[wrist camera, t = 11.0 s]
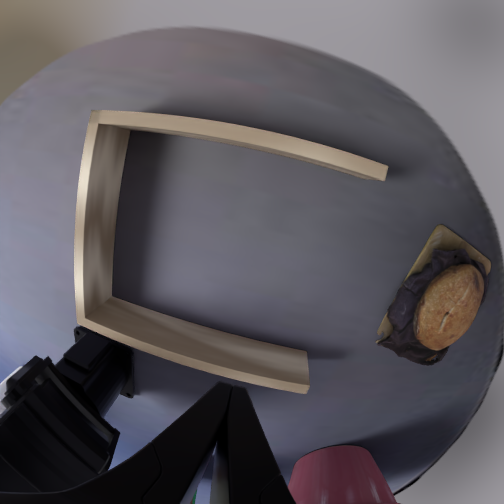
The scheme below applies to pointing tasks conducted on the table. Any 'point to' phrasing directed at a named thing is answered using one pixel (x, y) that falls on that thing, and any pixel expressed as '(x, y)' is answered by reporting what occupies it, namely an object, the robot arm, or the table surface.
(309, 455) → the plant pot
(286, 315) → the table surface
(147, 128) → the frame
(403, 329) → the bread roll
